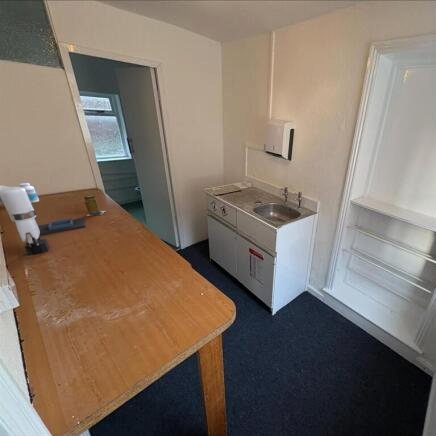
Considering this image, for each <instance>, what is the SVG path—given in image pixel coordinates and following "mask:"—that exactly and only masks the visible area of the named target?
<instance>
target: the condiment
mask: <svg viewBox="0 0 436 436" xmlns="http://www.w3.org/2000/svg"><path fill="white" fill-rule="evenodd" d="M83 198H84V204H85V207H86V210H87V213H88V214H86V217H89V216H102V215H103V214H105V213H106V210H101V209H100V206H99V203H98V200H97V198H96V196H95V195H94V194H88V195H84V197H83ZM104 212H105V213H104Z"/></svg>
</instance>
